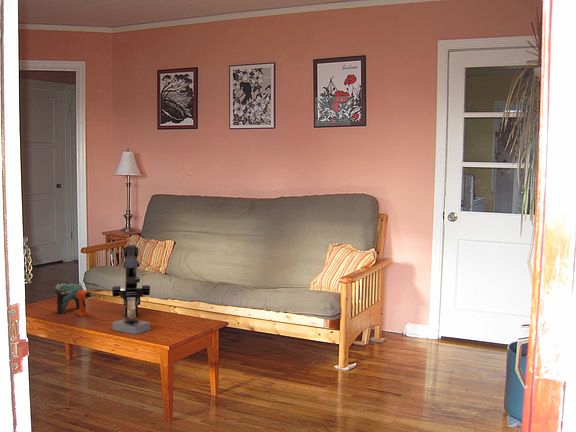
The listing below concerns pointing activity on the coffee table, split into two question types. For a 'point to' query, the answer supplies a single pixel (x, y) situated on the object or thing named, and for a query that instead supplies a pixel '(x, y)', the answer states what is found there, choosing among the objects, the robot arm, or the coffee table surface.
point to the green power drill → (66, 295)
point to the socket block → (131, 326)
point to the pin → (131, 307)
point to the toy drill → (83, 302)
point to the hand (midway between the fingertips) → (131, 304)
